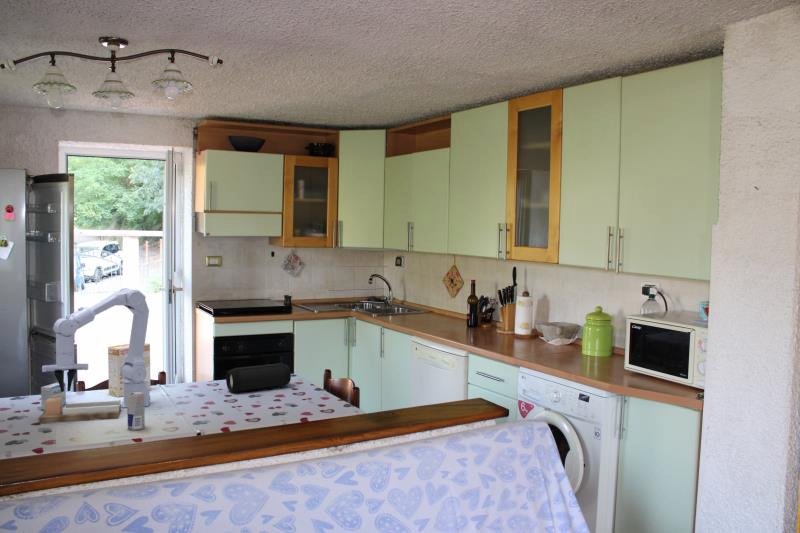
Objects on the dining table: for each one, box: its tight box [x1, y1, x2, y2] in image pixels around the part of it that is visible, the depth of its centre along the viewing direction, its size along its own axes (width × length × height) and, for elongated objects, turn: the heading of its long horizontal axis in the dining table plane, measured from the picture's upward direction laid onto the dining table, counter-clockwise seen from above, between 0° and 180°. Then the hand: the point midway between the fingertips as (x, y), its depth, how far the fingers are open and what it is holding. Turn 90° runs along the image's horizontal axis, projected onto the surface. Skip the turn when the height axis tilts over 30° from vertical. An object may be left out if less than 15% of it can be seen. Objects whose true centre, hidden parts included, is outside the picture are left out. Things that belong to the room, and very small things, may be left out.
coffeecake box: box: [107, 342, 151, 398], centre depth 280 cm, size 15×7×20 cm, turn 144°
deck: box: [38, 403, 122, 424], centre depth 245 cm, size 25×12×2 cm, turn 107°
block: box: [46, 398, 63, 415], centre depth 242 cm, size 4×4×4 cm
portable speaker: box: [225, 363, 292, 393], centre depth 289 cm, size 26×10×10 cm, turn 124°
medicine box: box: [40, 382, 67, 411], centre depth 255 cm, size 8×4×9 cm, turn 168°
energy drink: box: [126, 391, 146, 431], centre depth 231 cm, size 5×5×12 cm
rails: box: [62, 399, 121, 415], centre depth 246 cm, size 18×8×2 cm, turn 107°
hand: (65, 390), depth 243 cm, fingers closed
